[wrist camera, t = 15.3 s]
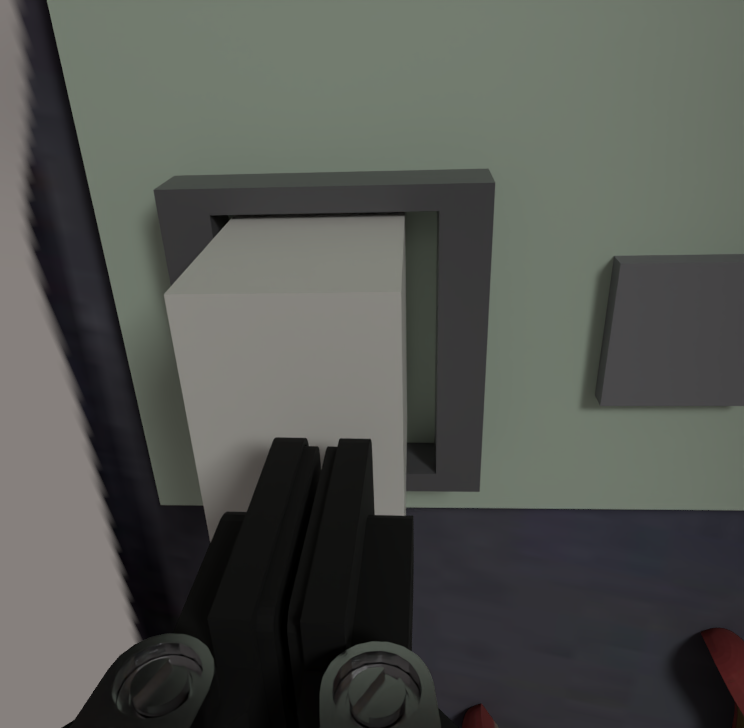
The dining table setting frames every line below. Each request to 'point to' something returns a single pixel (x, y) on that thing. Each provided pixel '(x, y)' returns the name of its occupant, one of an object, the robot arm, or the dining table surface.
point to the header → (453, 276)
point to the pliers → (730, 653)
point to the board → (436, 152)
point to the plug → (293, 348)
